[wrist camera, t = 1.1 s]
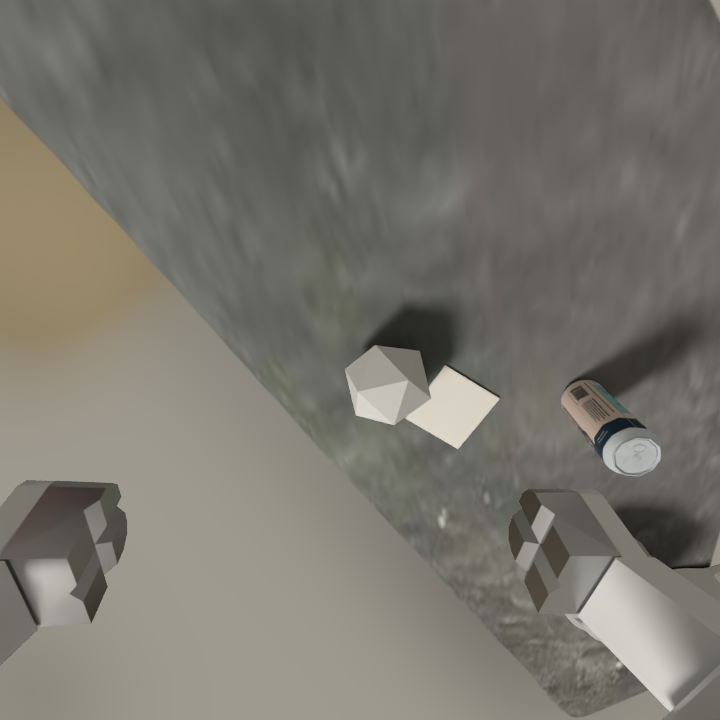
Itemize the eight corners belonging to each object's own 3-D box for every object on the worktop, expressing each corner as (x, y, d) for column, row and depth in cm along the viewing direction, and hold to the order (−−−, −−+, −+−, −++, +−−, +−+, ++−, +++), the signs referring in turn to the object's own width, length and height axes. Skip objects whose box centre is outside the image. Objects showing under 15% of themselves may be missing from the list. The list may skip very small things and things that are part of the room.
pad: (499, 397, 49) (499, 398, 49) (457, 448, 52) (457, 449, 52) (444, 364, 48) (445, 365, 48) (405, 417, 51) (405, 418, 51)
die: (334, 363, 50) (341, 440, 45) (360, 317, 43) (372, 401, 38) (398, 370, 53) (411, 444, 48) (431, 328, 46) (451, 407, 41)
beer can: (555, 414, 49) (601, 478, 38) (564, 376, 48) (615, 431, 37) (598, 417, 49) (657, 482, 38) (608, 379, 48) (674, 435, 36)
